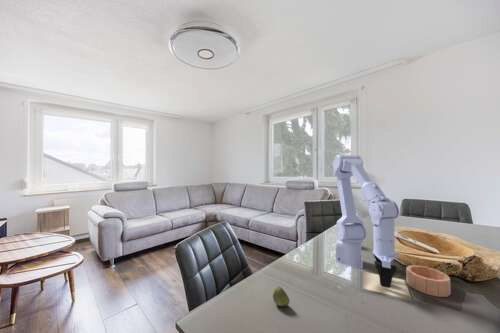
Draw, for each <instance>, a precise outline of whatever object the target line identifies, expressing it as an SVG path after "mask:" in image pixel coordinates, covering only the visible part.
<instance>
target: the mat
mask: <svg viewBox="0 0 500 333" xmlns="http://www.w3.org/2000/svg"><path fill="white" fill-rule="evenodd" d="M363 272H364V271H360V270H359V292H361V293H365V294H368V295H369V294H370V295H372V296H378V297H382V298H385V299H389V300H393V301H397V302H401V303H406V304H410V305H414V306H418V302H417V299H416V298H415V295H414V293H413V290H412V287H411V286H410V285H408V283H407V280H405V283H406V285H407V288H408V290H409V293H410V295H411V298H412V302H409V301H405V300H401V299H397V298H393V297H388V296H384V295H380V294H376V293H372V292H368V291H364V290H363Z"/></svg>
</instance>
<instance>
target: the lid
mask: <svg viewBox="0 0 500 333" xmlns="http://www.w3.org/2000/svg"><path fill="white" fill-rule="evenodd" d="M362 272H363V290H364V291H368V292H372V293H376V294H380V295H384V296H388V297H393V298H397V299H401V300H405V301H409V302H412V298H411V295H410V293H409V290H408V288H407V285H406V283H405V281H406V280H405V279H402V278H398V277H397V278H396V277H392V281H391V285H390V288H388V287H383V286H382V285H381V282H380V277H379V273H378V274H377V273H374V272H369V271H368V272H367V271H362Z"/></svg>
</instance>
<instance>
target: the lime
mask: <svg viewBox="0 0 500 333" xmlns="http://www.w3.org/2000/svg"><path fill="white" fill-rule="evenodd" d="M272 300H273V302H274V303H275V304H276V305H278V306H280V307H287V306H288V305H290V298H289V296H288V294H287V293H286V291H285V290H284V289H283V288H282V286H280V285H277V286H276V287H275V288H274V289H273V292H272Z"/></svg>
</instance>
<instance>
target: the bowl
mask: <svg viewBox="0 0 500 333" xmlns="http://www.w3.org/2000/svg"><path fill="white" fill-rule="evenodd" d="M405 273H406V274H405V275H406V278H405V279H406V281H407V283H408V285H409V286H410V288H411V289H412V288H413V289H414V290H416V291H417V292H420V293H423V294H426V295H427V296H428V295H429V296H434V297H439V298H440V297H441V298H442V297H447V298H448V297H449V296H450V295H451V293H452V291H451V290H452V289H451V288H452V287H451V284H452V283H451V278H450V276H449V275H448V274H447V273H445V272H443V271H441V270H439V269H436V268H431V267H429V266H426V265H425V266H424V265H417V264H415V265H413V264H411V265H408V266H406V268H405Z"/></svg>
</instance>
